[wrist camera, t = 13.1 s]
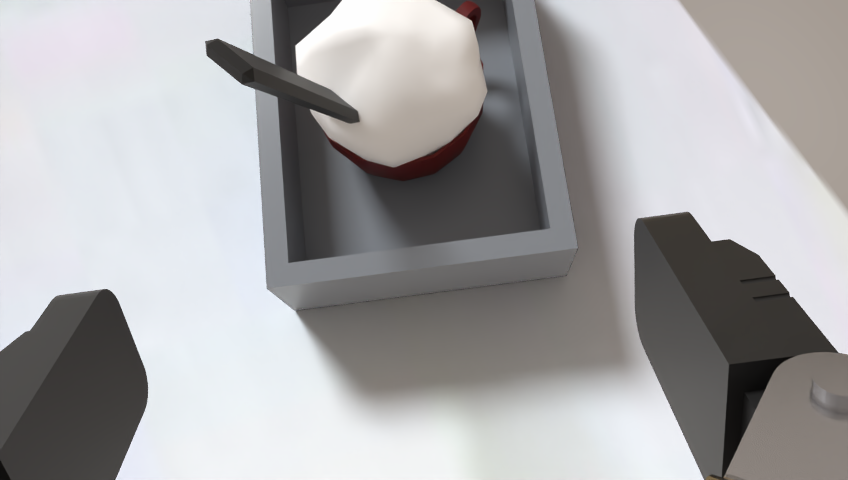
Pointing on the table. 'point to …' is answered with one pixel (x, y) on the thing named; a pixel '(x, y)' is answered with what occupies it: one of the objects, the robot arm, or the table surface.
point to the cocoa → (382, 82)
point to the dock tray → (414, 181)
